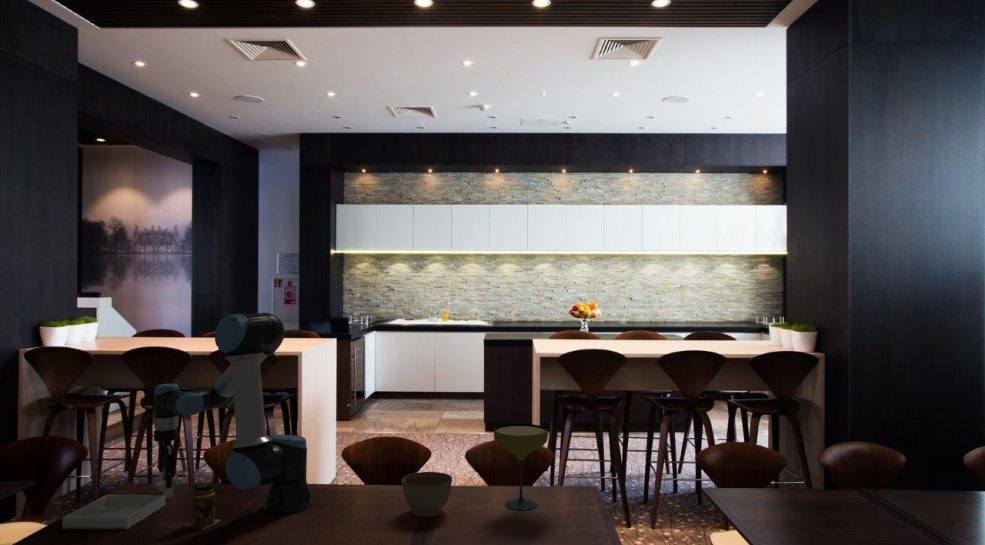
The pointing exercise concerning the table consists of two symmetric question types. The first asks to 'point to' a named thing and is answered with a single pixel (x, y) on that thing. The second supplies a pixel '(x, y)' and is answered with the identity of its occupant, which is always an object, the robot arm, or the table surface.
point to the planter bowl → (427, 492)
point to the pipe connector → (159, 482)
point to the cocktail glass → (520, 452)
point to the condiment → (204, 505)
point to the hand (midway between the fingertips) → (165, 493)
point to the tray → (114, 512)
